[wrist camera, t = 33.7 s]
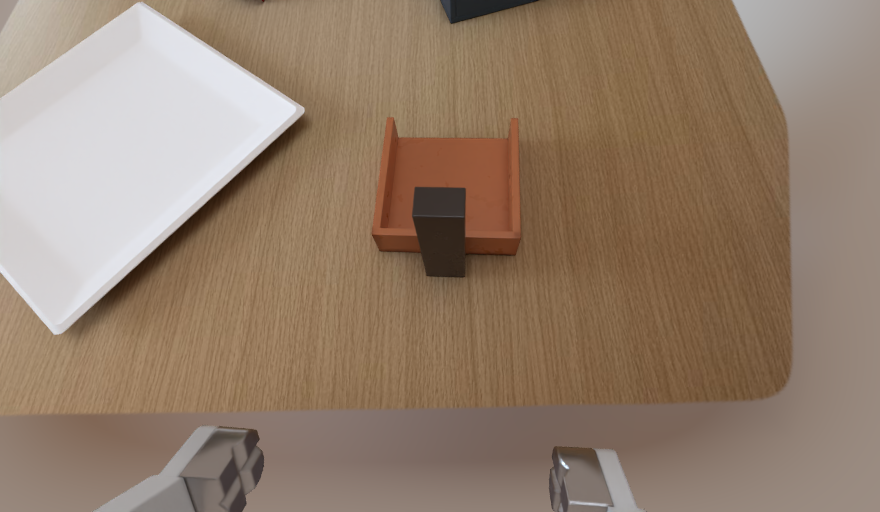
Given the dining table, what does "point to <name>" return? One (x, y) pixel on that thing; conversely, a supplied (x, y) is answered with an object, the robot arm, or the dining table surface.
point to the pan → (448, 198)
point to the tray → (476, 7)
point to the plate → (120, 155)
